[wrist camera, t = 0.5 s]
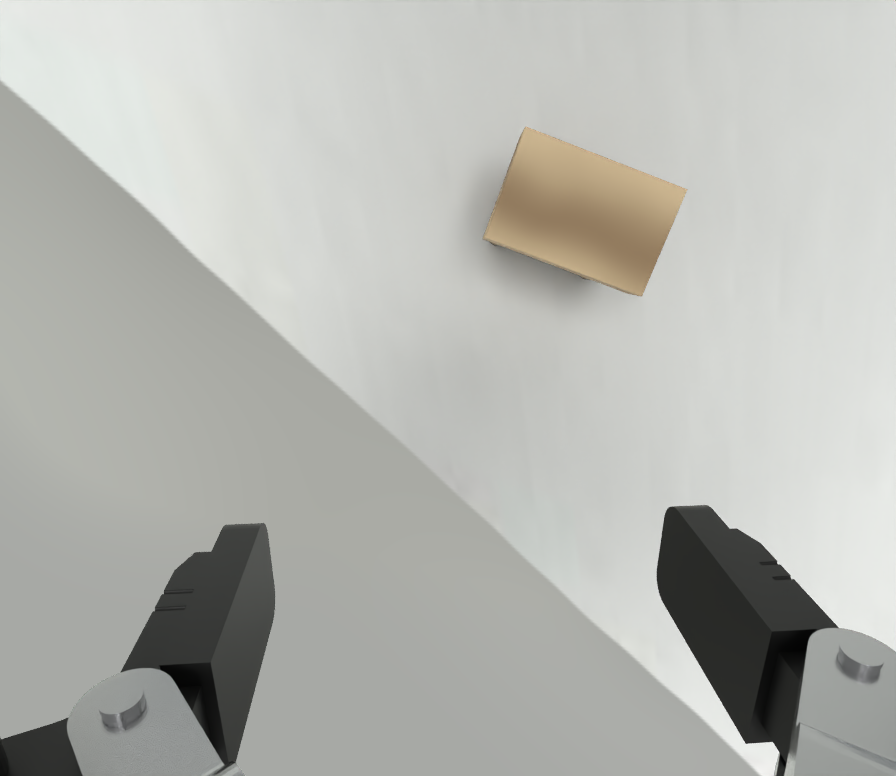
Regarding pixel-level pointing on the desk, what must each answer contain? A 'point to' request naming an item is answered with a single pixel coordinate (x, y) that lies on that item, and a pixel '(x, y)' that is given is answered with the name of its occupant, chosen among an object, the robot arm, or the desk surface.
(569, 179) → the oak stool
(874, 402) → the desk surface
